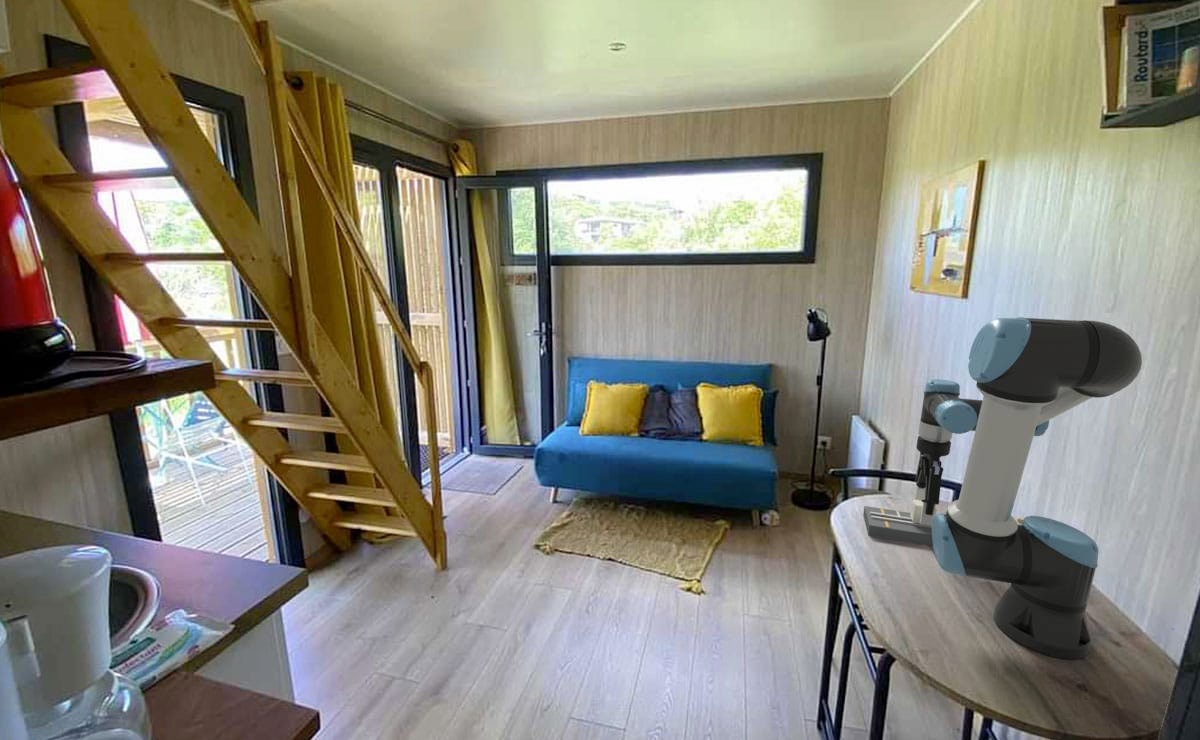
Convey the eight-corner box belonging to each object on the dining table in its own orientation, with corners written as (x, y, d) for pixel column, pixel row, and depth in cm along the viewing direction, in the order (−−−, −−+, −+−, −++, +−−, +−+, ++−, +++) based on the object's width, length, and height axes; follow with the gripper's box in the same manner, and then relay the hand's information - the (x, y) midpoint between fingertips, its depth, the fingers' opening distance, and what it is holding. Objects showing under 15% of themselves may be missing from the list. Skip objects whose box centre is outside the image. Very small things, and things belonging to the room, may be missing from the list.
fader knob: (933, 527, 142) (936, 508, 141) (912, 524, 144) (915, 505, 143) (930, 521, 146) (933, 502, 145) (909, 518, 147) (912, 499, 146)
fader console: (939, 547, 139) (941, 535, 138) (868, 535, 145) (869, 523, 144) (929, 525, 150) (931, 514, 149) (863, 515, 156) (864, 504, 155)
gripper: (962, 453, 129) (948, 538, 134) (941, 427, 148) (929, 502, 153) (927, 449, 131) (914, 532, 136) (910, 424, 150) (900, 498, 155)
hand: (922, 516), depth 145 cm, fingers open, 8 cm apart
